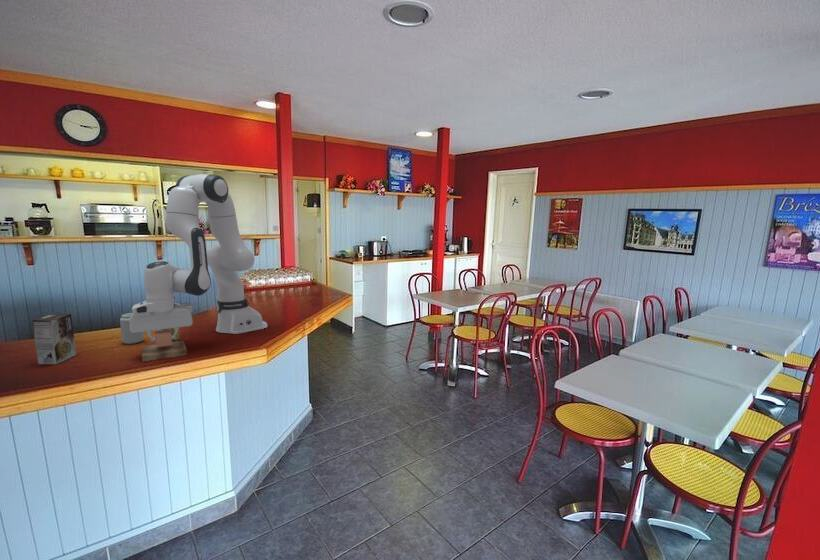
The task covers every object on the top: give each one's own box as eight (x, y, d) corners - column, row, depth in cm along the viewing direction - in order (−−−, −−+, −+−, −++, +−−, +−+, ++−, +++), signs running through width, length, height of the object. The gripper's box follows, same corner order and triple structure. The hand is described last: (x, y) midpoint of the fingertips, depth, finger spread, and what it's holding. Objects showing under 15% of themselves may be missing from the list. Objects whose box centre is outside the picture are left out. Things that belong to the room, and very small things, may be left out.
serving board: (184, 345, 156) (183, 340, 155) (187, 354, 145) (186, 349, 145) (142, 351, 148) (141, 346, 147) (142, 361, 137) (141, 356, 137)
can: (132, 345, 153) (130, 316, 151) (117, 344, 155) (114, 315, 153) (148, 340, 161) (146, 312, 159) (134, 338, 162) (131, 311, 160)
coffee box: (58, 355, 141) (53, 313, 139) (77, 355, 142) (72, 313, 139) (37, 364, 132) (30, 319, 130) (56, 364, 133) (51, 319, 130)
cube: (171, 341, 149) (170, 329, 148) (171, 345, 145) (170, 332, 144) (155, 343, 146) (154, 330, 146) (156, 347, 142) (155, 334, 141)
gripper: (191, 300, 152) (193, 333, 154) (127, 306, 140) (131, 342, 142) (193, 303, 147) (195, 338, 149) (127, 309, 135) (130, 347, 137)
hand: (163, 340), depth 146 cm, fingers closed on cube, 5 cm apart
